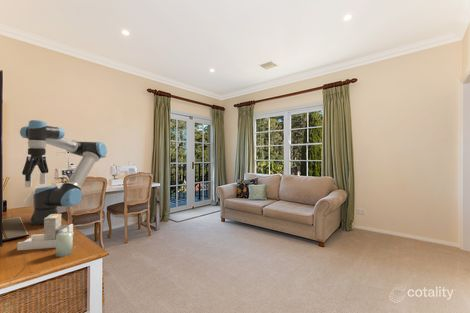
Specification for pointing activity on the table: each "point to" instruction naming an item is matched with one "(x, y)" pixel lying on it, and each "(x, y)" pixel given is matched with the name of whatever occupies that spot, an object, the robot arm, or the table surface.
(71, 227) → the white open tray
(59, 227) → the pusher
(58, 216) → the supplement box
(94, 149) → the robot arm
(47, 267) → the table surface
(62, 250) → the sage jar
